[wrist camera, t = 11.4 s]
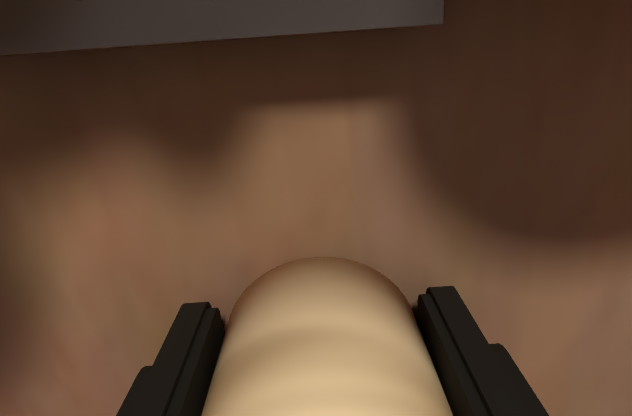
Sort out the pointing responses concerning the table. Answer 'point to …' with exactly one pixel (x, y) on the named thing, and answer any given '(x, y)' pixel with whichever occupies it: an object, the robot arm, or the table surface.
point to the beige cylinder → (324, 347)
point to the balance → (193, 21)
